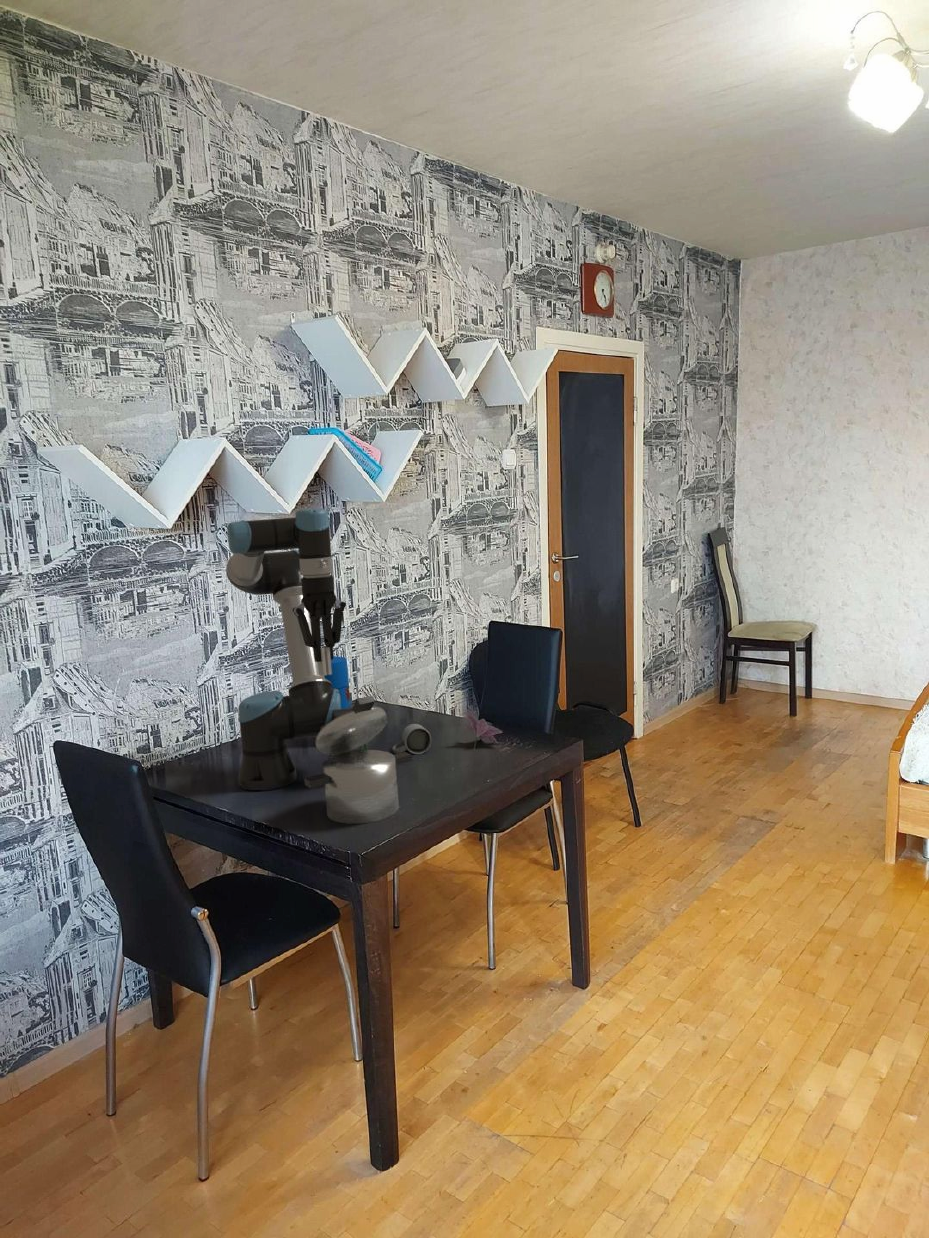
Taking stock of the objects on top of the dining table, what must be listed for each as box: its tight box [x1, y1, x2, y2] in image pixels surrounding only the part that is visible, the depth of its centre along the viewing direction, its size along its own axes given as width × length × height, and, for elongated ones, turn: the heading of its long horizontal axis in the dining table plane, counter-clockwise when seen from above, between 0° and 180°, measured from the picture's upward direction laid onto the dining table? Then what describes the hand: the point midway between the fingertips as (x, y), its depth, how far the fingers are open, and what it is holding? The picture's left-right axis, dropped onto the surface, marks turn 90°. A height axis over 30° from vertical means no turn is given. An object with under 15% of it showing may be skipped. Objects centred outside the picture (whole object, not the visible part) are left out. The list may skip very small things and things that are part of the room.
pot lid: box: [314, 694, 389, 756], centre depth 208 cm, size 22×18×3 cm
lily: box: [463, 712, 503, 749], centre depth 253 cm, size 12×12×10 cm
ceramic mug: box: [392, 723, 432, 755], centre depth 252 cm, size 11×8×8 cm
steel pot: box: [303, 749, 413, 825], centre depth 210 cm, size 19×27×12 cm
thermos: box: [324, 655, 352, 709], centre depth 265 cm, size 11×11×25 cm
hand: (325, 674), depth 210 cm, fingers closed
